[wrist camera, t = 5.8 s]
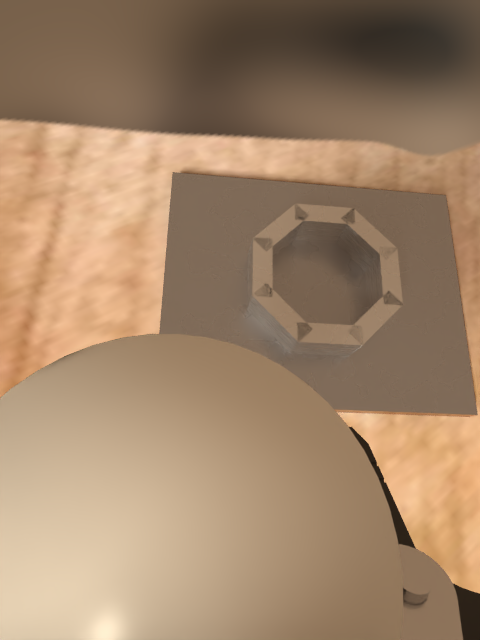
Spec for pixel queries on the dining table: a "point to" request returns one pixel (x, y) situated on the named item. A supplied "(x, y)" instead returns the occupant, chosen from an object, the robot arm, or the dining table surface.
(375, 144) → the dining table surface
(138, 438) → the metal cylinder
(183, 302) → the octagonal socket base
